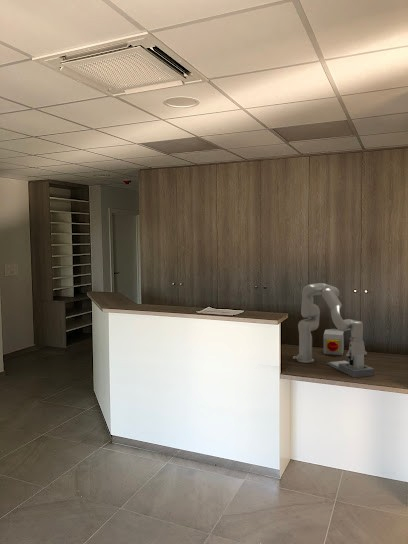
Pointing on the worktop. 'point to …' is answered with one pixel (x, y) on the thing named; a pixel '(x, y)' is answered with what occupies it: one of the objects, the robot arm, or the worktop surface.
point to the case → (345, 368)
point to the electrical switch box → (333, 342)
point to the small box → (358, 362)
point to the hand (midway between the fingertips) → (356, 364)
